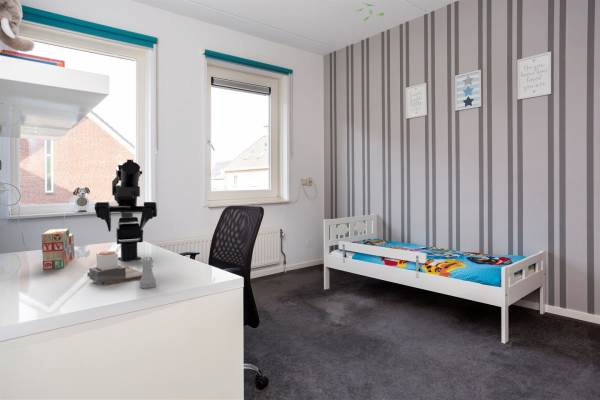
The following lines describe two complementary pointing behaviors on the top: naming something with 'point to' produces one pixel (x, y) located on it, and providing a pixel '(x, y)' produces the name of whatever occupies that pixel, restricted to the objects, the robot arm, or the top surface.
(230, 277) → the top surface
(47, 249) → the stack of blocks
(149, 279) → the rook chess piece
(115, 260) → the key cap
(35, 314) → the top surface
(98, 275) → the key console
